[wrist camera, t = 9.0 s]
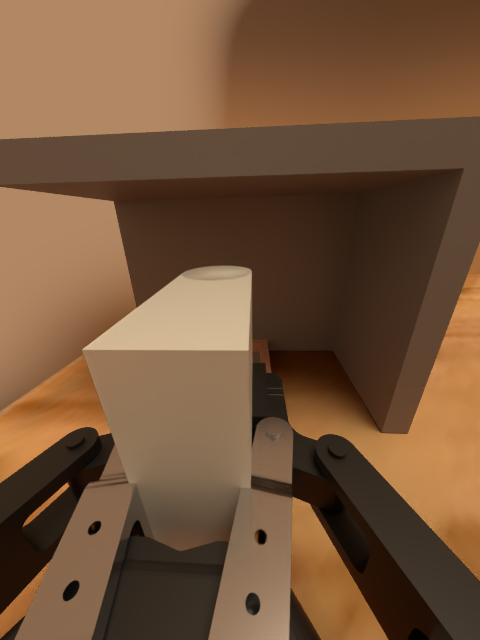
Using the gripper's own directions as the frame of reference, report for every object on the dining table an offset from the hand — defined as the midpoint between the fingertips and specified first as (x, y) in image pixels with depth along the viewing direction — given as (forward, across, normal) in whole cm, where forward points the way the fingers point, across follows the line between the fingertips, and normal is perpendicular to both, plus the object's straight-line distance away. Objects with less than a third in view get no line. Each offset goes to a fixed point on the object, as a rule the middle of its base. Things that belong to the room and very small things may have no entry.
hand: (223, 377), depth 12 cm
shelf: (+11, 0, +8) cm, 14 cm away
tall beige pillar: (-2, 0, +6) cm, 7 cm away
